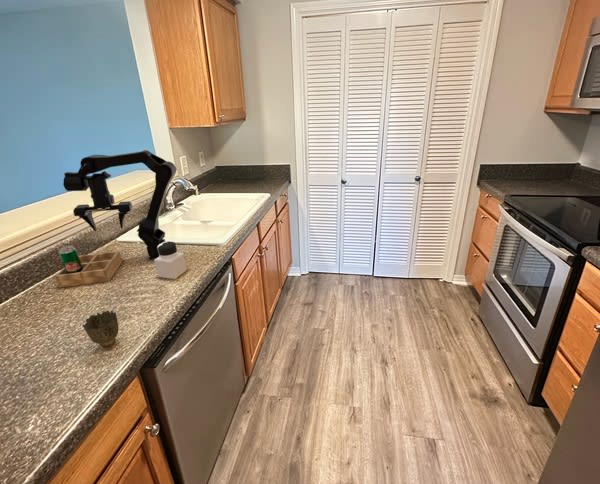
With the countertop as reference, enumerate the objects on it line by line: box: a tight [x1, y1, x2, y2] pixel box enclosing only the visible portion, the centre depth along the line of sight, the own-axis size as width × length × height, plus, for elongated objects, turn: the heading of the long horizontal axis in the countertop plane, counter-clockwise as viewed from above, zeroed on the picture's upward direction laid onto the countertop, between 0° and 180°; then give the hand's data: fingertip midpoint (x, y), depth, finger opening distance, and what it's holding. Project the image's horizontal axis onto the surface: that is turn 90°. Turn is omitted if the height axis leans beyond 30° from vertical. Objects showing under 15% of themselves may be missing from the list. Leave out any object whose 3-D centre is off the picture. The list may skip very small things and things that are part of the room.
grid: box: [54, 250, 123, 288], centre depth 120 cm, size 16×16×4 cm
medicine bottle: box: [154, 241, 188, 280], centre depth 115 cm, size 7×7×12 cm
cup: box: [82, 309, 119, 348], centre depth 83 cm, size 8×7×8 cm
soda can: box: [58, 245, 83, 274], centre depth 114 cm, size 5×5×12 cm
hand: (109, 229), depth 126 cm, fingers open, 9 cm apart
